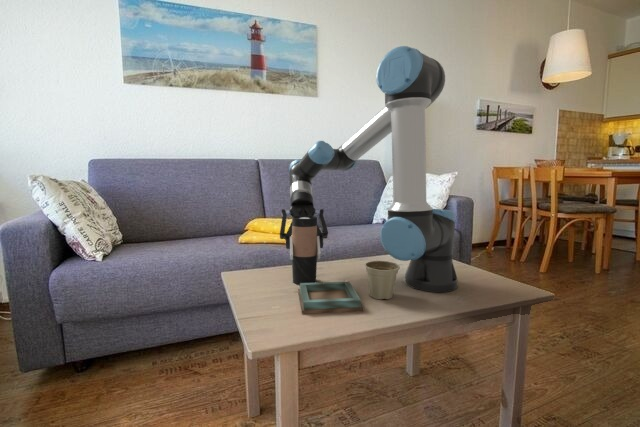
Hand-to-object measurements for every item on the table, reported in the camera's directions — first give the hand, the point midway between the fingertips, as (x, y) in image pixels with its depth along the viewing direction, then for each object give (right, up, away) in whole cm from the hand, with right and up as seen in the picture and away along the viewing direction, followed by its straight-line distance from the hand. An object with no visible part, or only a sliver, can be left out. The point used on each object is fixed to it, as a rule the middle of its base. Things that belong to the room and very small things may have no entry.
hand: (305, 257), depth 99 cm
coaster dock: (+6, -10, -11) cm, 16 cm away
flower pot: (+21, -10, -7) cm, 24 cm away
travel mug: (-1, -8, +5) cm, 9 cm away
